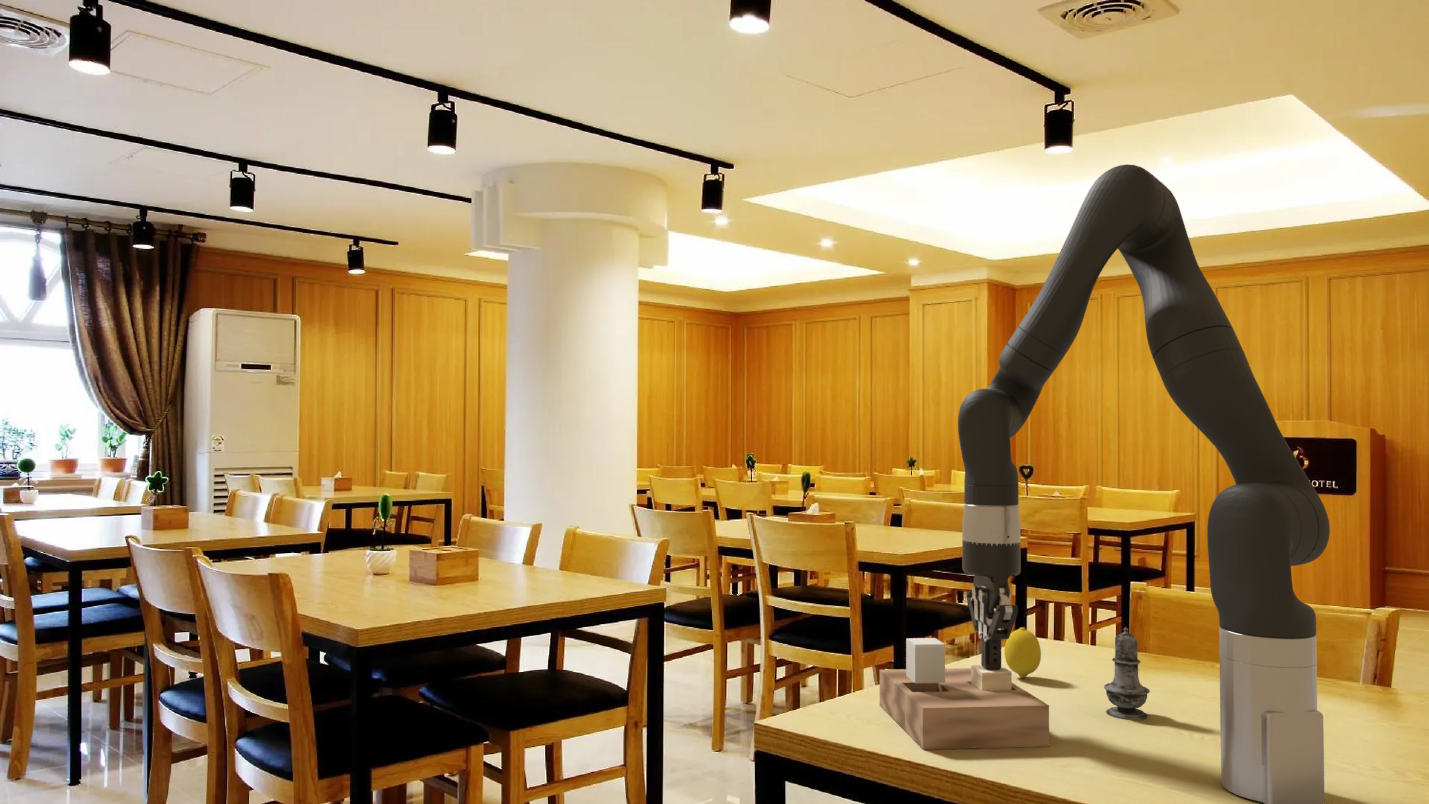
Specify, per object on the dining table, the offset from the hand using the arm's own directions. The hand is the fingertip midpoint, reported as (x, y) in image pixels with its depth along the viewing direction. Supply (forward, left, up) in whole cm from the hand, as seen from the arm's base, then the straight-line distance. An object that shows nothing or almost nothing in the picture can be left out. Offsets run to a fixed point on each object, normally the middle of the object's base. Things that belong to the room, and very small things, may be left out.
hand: (991, 668), depth 132 cm
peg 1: (0, +9, -1) cm, 9 cm away
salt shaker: (+3, -20, -8) cm, 22 cm away
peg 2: (0, 0, -5) cm, 5 cm away
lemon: (+24, -14, -8) cm, 29 cm away
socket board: (0, +5, -7) cm, 9 cm away
